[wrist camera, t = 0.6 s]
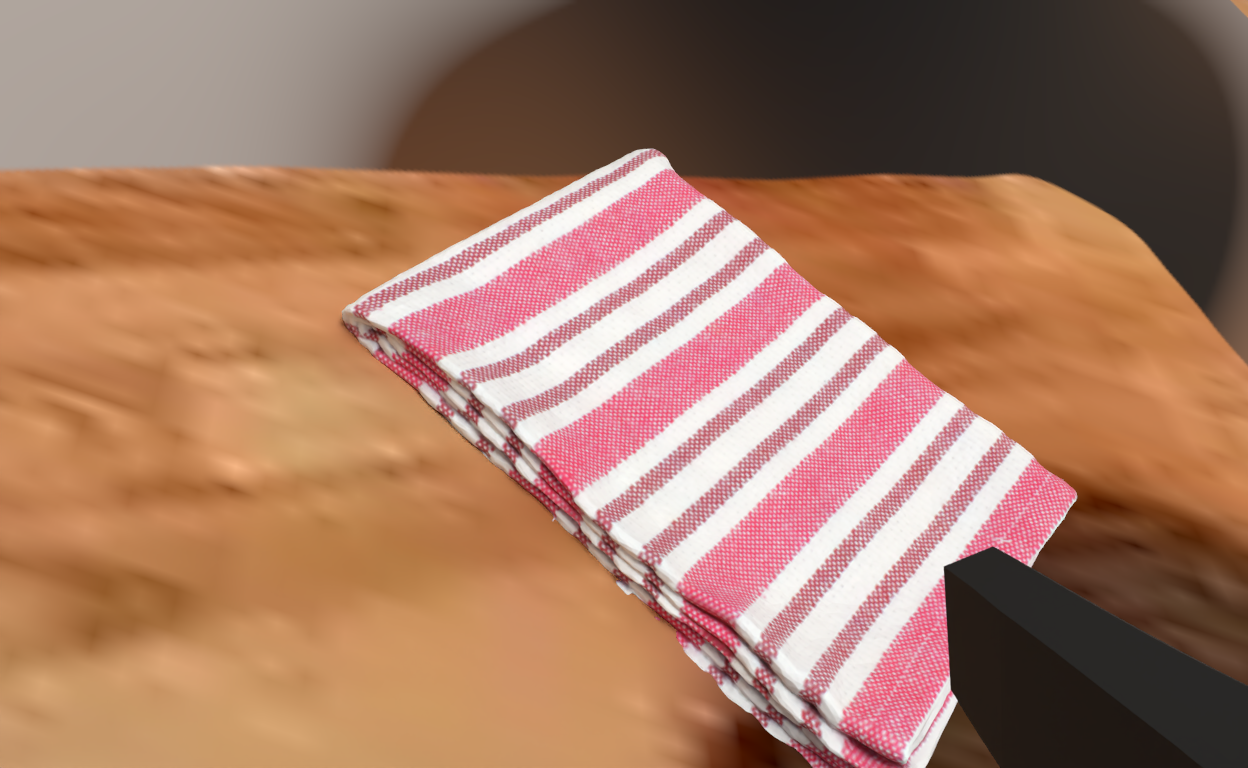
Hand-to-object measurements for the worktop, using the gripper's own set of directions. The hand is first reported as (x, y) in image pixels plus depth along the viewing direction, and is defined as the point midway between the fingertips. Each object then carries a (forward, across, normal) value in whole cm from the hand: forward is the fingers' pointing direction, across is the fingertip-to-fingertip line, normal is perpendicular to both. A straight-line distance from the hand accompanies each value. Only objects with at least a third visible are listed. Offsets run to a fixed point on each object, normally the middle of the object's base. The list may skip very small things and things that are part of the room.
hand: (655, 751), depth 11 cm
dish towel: (+23, -7, +14) cm, 28 cm away
